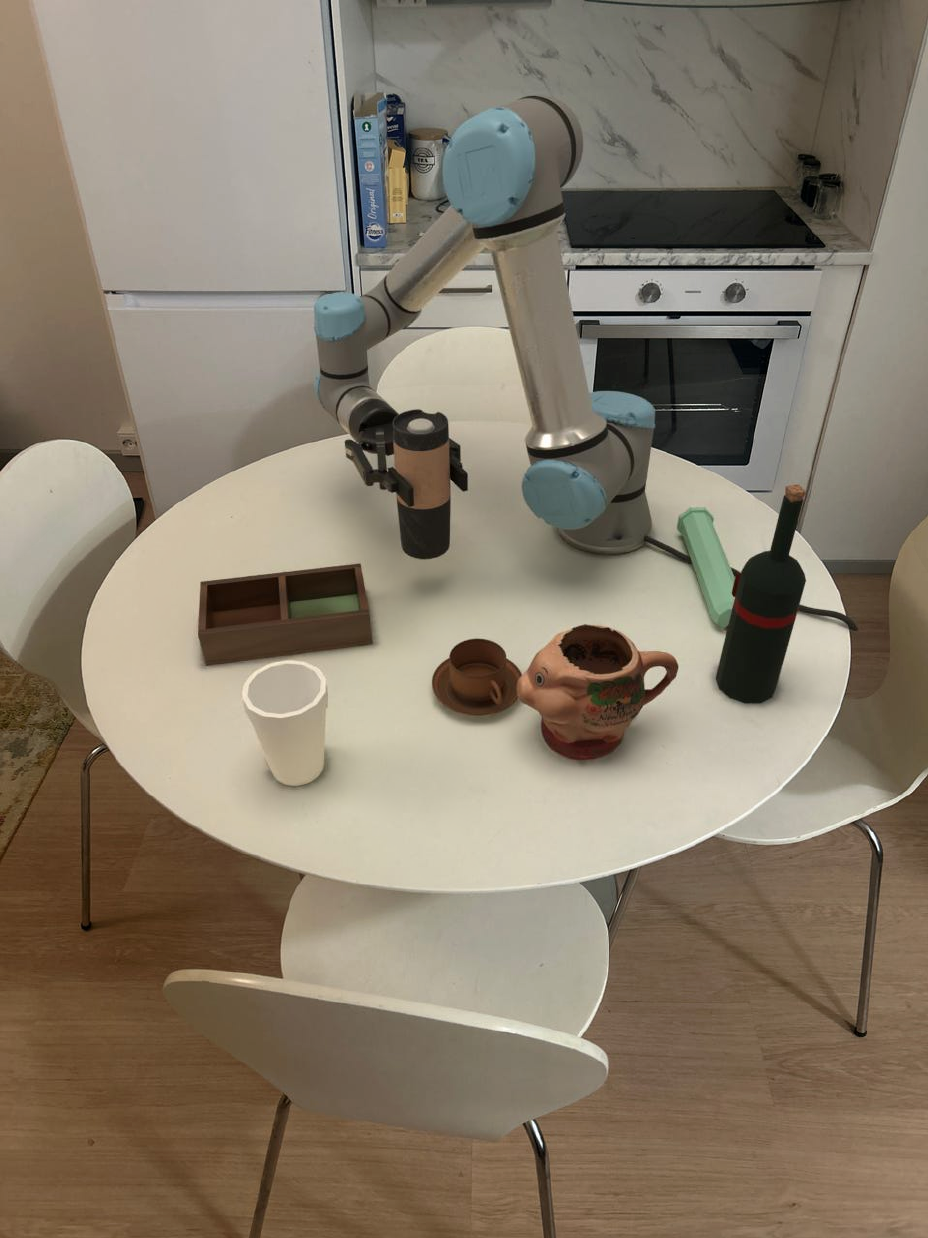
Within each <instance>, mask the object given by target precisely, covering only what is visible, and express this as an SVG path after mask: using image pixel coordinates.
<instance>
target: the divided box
mask: <svg viewBox="0 0 928 1238" xmlns="http://www.w3.org/2000/svg"><path fill="white" fill-rule="evenodd" d="M365 584H366V583H365V579H364V574H363V568H362V564H361V563H352V564H351V563H350V564H343V565H333V566H324V567H316V568H308V569H299V570H289V571H284V572H283V571H281V572H272V573H264V574H263V573H262V574H255V575H247V576H238V577H229V578H219V579H211V580H204V581H200V586H199V605H198V609H199V610H198V623H197V624H198V626H197V627H198V628H197V637H198V640H199V644H200V648H201V652H202V657H203V661H204V665H205V666H212V665H218V664H219V665H220V664H226V663H234V662H242V661H243V662H244V661H249V660H258V659H265V658H275V657H282V656H290V655H297V654H305V653H312V652H320V651H328V650H336V649H337V650H338V649H344V648H352V647H360V646H366V645H373V634H372V623H371V612H370V607H369V606H370V605H369V602H368V595H367V590H366V585H365Z"/></svg>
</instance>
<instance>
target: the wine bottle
mask: <svg viewBox="0 0 928 1238" xmlns="http://www.w3.org/2000/svg"><path fill="white" fill-rule="evenodd" d="M784 493H785V494H784V495H783V497H782V502H781V506H780V509H779V512H778V516H777V517H778V518H777V522H776V525H775V528H774V534H773V537H772V541H771V545H770V549H769V550H765V551H761V552H760V553H757V554H754V555H753V556H751V557H750V558H749V559H748V560H747V561H746V562H745V564H744V565H743V567H742V569H741V571H740V572H741V573H738V574H737V576H736V577H735V576H734V577H735V580H734V585H733V589H732V595H733V597H735V599H734V604H733V608H732V612H731V616H730V620H729V624H728V626H727V627H726V628H725V629H723V631H726V633H725V637H724V641H723V645H722V649H721V654H720V658H719V662H718V666H717V671H716V675H715V681H716V684H717V687H718V690H720V691H721V692H722V694H724V695H726V696H727V697H728V698H729V699H732V700H734V701H737V702H740V703H743V704H763V703H764V702H766V701H768V700H770V699H772V698H773V697H774V694H775V692H776V690H777V687H778V683H779V679H780V676H781V673H782V670H783V665H784V662H785V658H786V655H787V650H788V647H789V644H790V640H791V636H792V633H793V630H794V625H795V622H796V618H797V616H798V612H799V611H798V608H799V605H801V600H802V597H803V594H804V590H805V586H806V583H807V578H806V574H805V572H804V569H803V568H802V566H801V564H800V562H799V561H798V559H796V558H794V557H793V556H791V555H790V553H791V549H792V545H793V541H794V537H795V533H796V530H797V526H798V522H799V519H800V516H801V511H802V506H803V504H804V498H805V495H806V493H807V491H806V490H805V488H803V487H802V486H801V485H800V484H799V483H798V484H790V485H785V492H784Z"/></svg>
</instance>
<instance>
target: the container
mask: <svg viewBox="0 0 928 1238" xmlns="http://www.w3.org/2000/svg"><path fill="white" fill-rule="evenodd" d="M714 521H715V517H714V515H713V514H712V513H711V512H710V511H709V510H708V509H707V508H706V507H704V506H700V507H699V506H698V507H697V506H695V507H694V506H693V507H688V509H686V510H685V511H683V512H682V513H681V514H679V515H678V518H677V524H676V529H677V531H678V532H679V533H680V535H682V537H683V541H684V544H685V546H686V549H687V552H688V554H689V555H688V556H690V558H691V561H692V563H693V564H692V566H693V569H694V572H695V575H696V577H697V581H698V583H699V587H700V589H701V592H702V594H703V598H704V601H705V603H706V606H707V609H708V612H709V615H710V617H711V620H712V621H713V622H714V623H715V624H717V626H718V627H720V628H721V629H722V630H724V629H725V628H726V627H727V626H728V624H729V620H730V616H731V612H732V608H733V604H734V599H735V597H733V595H732V589H733V585H734V580H735V576H734V575H733V572H732V570H731V568H730V567H731V565H730V563H729V560H728V557H727V555H726V552H725V550H724V548H723V546H722V545H723V544H722V543H721V541H720V538H719V535H718V532H717V531H716V528H715V525H714Z"/></svg>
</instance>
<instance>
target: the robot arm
mask: <svg viewBox="0 0 928 1238" xmlns="http://www.w3.org/2000/svg"><path fill="white" fill-rule="evenodd" d="M583 151H584V135H583V130H582V127H581V124H580V122H579V120H578V118H577V115H576V114H575V112H574V111H573V110H572V108H570V107H569V106H568V105H567V104H566V103H565V102H564V101H562V100H561V99H559V98H556V97H555V96H551V95H548V94H531V95H530V94H529V95H526V96H523V97H521V98H518V99H516V100H513V101H511V102H507V103H504V104H502V105H499V106H495V107H492V108H487V109H485V110H483V111H481V112H478V113H476V114H475V115H474V116H472V117H470V118H469V119H467V120H466V121H464V122H463V123H462V124H460V125H459V127H457V129H456V130H455V131H454V133H453V134H452V135H451V137H450V139H449V141H448V144H447V146H446V148H445V151H444V155H443V160H442V171H441V172H442V183H443V188H444V191H445V194H446V197H447V200H448V202H449V204H450V205H449V207H448V208H447V209H446V210H445V211H444V212H443V213H442V214H441V215H440V216H439V217H438V218H437V219H436V220H435V221H434V222H433V224H432V225H431V226H430V227H429V228H428V229H427V230H426V232H424V234H423V235H422V236H421V237H420V238H419V239H418V240H417V241H416V242H415V243H414V244H413V245H412V246H411V248H409V250H408V251H407V252H406V253H405V254H404V255H403V257H401V258H400V259H399V261H398V262H396V264H395V265H394V266H393V267H392V268H391V269H390V270H389V271H388V272H387V274H386V275H385V276H384V277H383V278H382V279H381V280H380V281H379V282H378V283H377V284H376V286H374V287H373V288H372V289H371V290H369V291H367V292H366V293H364V294H362V295H357V294H355V293H350V292H345V291H341V292H340V291H337V292H332V293H330V294H324V295H321V296H320V297H319V298H317V300H316V301H315V303H314V305H313V315H314V323H313V325H314V326H313V329H314V332H315V339H316V347H317V348H316V349H317V355H318V363H319V371H318V373H317V375H316V377H315V380H314V383H313V388H314V389H313V390H314V394H315V397H316V399H317V400H318V401H319V404H320V405H321V406H322V408H323V409H324V411H325V412H327V413H328V414H329V415H330V416H331V417H332V418H333V419H334V420H335V421H336V422H337V423H338V425H340V426H341V427H342V428H343V429H344V430H345V432H346V433H347V434H348V435H349V436H350V438H352V439H345V440H344V450H345V458H347V459H348V460H349V461H351V462H352V463H353V464H354V466H355V468H356V470H357V472H358V473H359V476H360V477H361V479H362V481H363V483H364V485H365V486H366V487H372V486H374V485H375V484H378V488H379V490H381V491H386V490H387V491H388V493H391V494H394V493H395V494H396V493H397V494H398V495H399V497H400V498H401V499H402V500H403V501H404V502H405V503H406V504H407V505H408V506H409V507H411V506H414V491H413V487H412V486H411V485H410V484H409V483H408V482H407V481H406V480H405V479H404V478H403V477H402V476H401V475H400V474H399V473H398V472H397V471H396V469H395V466H390V467H388V465H387V457H389V456H394V442H393V420H394V418H395V417H396V416H397V415H399V414H400V413H398V412H397V410H395V409H394V408H393V407H392V405H390V403H388V402H387V401H386V400H385V399H384V398H383V397H382V396H381V395H379V394H378V393H377V391H375V390H374V389H373V388H372V386H370V379H369V378H370V375H369V360H368V351H369V350H371V349H373V347H376V346H377V345H378V344H380V343H382V342H383V341H385V340H386V339H387V338H389V337H391V336H393V335H395V334H396V333H398V332H400V331H401V330H405V329H406V328H408V327H409V326H411V325H412V324H413V323H414V322H415V321H416V320H417V319H418V318H419V317H420V315H421V313H422V312H423V309H424V308H425V307H426V305H428V303H429V302H430V301H432V299H434V298H435V297H436V296H437V295H438V294H439V293H440V292H441V291H442V290H443V289H444V288H445V287H446V286H447V285H448V284H449V283H450V282H451V281H452V280H453V279H454V278H455V277H456V276H457V275H458V274H459V273H461V271H463V269H465V268H466V267H467V266H468V265H469V264H470V263H471V262H472V261H473V260H474V259H475V258H476V257H477V256H478V255H479V254H480V253H481V252H483V250H484V249H487V250H489V252H490V255H491V259H492V264H493V268H494V272H495V276H496V280H497V284H498V288H499V292H500V296H501V302H502V305H503V309H504V313H505V317H506V322H507V326H508V330H509V334H510V339H511V343H512V347H513V350H514V351H513V352H514V355H515V359H516V363H517V367H518V372H519V374H520V379H521V383H522V388H523V392H524V397H525V400H526V405H527V409H528V413H529V417H530V423H531V427H530V428H529V430H528V432H527V434H526V435H525V437H524V443H525V447H526V451H527V452H526V453H527V456H528V460H529V464H530V465H529V466H528V467H527V469H526V470H525V472H524V475H523V477H522V480H521V494H522V497H523V500H524V502H525V504H526V506H527V507H528V508H529V510H530V512H531V513H533V514H534V516H536V517H537V518H538V519H541V520H543V521H544V522H545V524H546V525H548V526H551V527H553V528H556V529H557V532H558V533H559V535H560V536H561V539H563V541H565V542H566V543H567V544H569V545H570V546H572V547H574V548H576V549H579V550H581V551H584V552H587V553H592V554H598V555H620V554H621V555H622V554H626V553H630V552H633V551H635V550H638V549H640V548H641V547H643V546H644V545H645V544H646V543H648V544H649V545H652V546H654V547H656V548H659V549H660V550H662V551H664V552H667V553H668V554H670V555H672V556H674V557H676V558H678V559H680V560H682V561H684V562H686V563H689V564H692V565H693V563H692V561H691V558H690V555H687V554H685V553H683V552H681V551H679V550H677V549H676V548H674V547H672V546H670V545H668V544H666V543H664V542H662V541H659V540H657V539H655V538H653V537H651V533H652V526H653V525H652V515H651V511H650V507H649V501H648V498H647V494H646V487H647V480H648V473H649V465H650V458H651V452H652V451H651V450H652V446H653V445H652V444H653V437H654V432H655V431H654V430H655V429H656V424H655V421H656V410H655V407H654V406H653V405H652V403H651V402H649V401H648V400H647V399H645V398H643V397H641V396H639V395H636V394H633V393H628V392H624V391H618V390H617V391H615V390H598V391H593V392H592V391H591V392H590V390H589V386H588V385H589V384H588V380H587V376H586V370H585V367H584V366H585V365H584V362H583V361H584V360H583V356H582V353H581V352H582V351H581V345H580V342H579V336H578V331H577V327H576V322H575V317H574V312H573V311H574V310H573V306H572V302H571V301H572V300H571V297H570V292H569V287H568V283H567V279H566V278H567V277H566V273H565V267H564V263H563V257H562V253H561V248H560V243H559V238H558V229H559V227H560V226H561V224H562V222H563V220H564V219H565V217H566V209H565V205H564V199H563V194H562V188H563V187H565V186H566V185H568V183H569V182H570V181H571V179H572V178H573V177H574V176H575V174H576V173H577V172H578V169H579V166H580V164H581V162H582V159H583ZM461 450H462V449H461V444H459V443H458V442H456V441H454V439H452V438H450V437H449V458H450V482H452V483H453V484H454V485H455V486H456V487H457V488H458V489H459V490H460V491H461V492H468V491H469V478H468V477H469V476H468V475H469V474H468V471H466V470H465V469H464V468H463V463H462V462H461V459H462V458H461V457H462V456H461V455H462V454H461V453H462V452H461ZM365 452H366V453H369V454H372V455H376V458H377V468H376V469H373V466H372V464H371V463H370V460H369V458H368V457H367V455H366V454H365ZM730 568H731V570H732V572H733V575H734V577H736V576H737V574H738V573H741V571H739V570H737V569H735V568H734V567H731V566H730ZM798 612H802V613H804V614H808V615H812V616H820V617H826V618H833V619H836V620H839V621H841V622H843V623H844V624H845V625H846V626H848V628H849V629H850V630H852V631H854V632H858V631H859V628H858V626H857V624H856V623H855V622H854V621H853V620H852V619H851V618H850V617H849V616H847V614H844V613H841V612H839V611H836V610H830V609H821V608H816V607H811V606H806V605H803V604H799V608H798Z"/></svg>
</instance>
